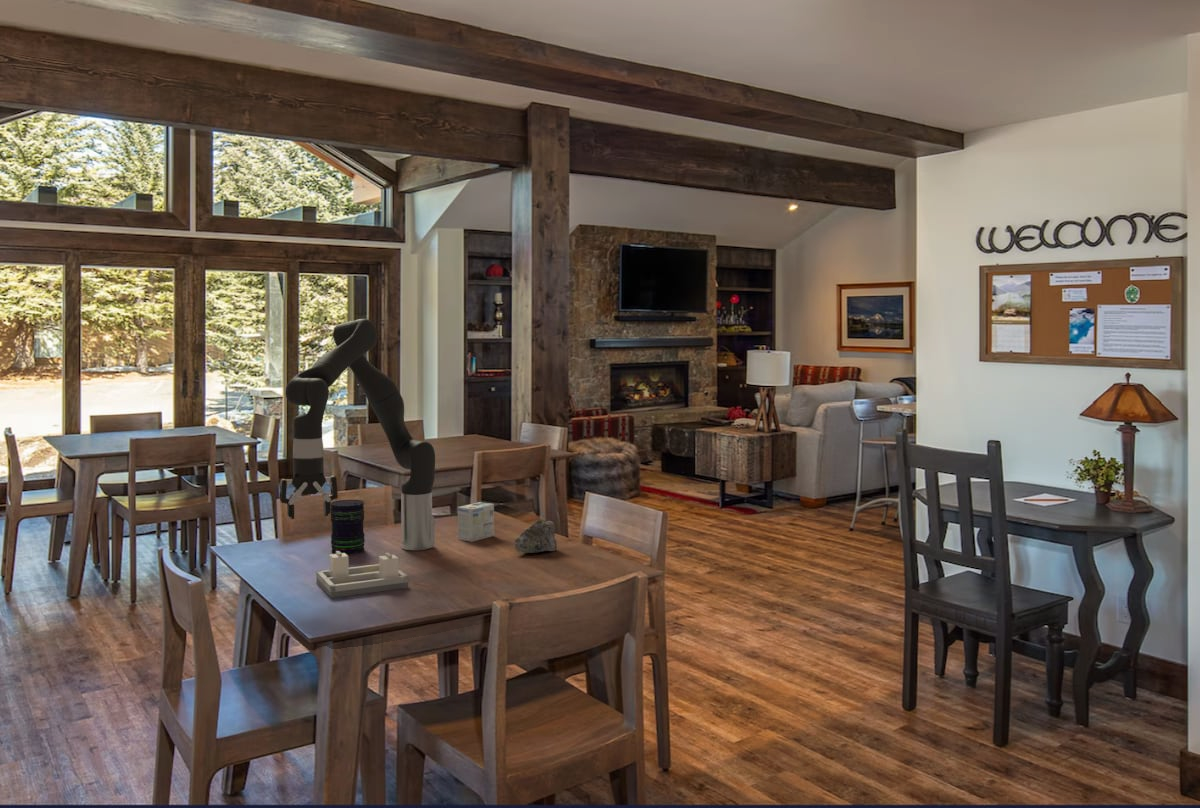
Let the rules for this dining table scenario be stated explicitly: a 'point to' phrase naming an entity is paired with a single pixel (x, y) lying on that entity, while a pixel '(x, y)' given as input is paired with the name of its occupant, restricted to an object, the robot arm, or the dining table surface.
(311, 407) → the robot arm
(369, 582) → the switch bank
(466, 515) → the light bulb box
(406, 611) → the dining table surface
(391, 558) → the tab
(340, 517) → the storage jar
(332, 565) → the tab
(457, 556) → the dining table surface
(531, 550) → the mineral rock
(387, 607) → the dining table surface
